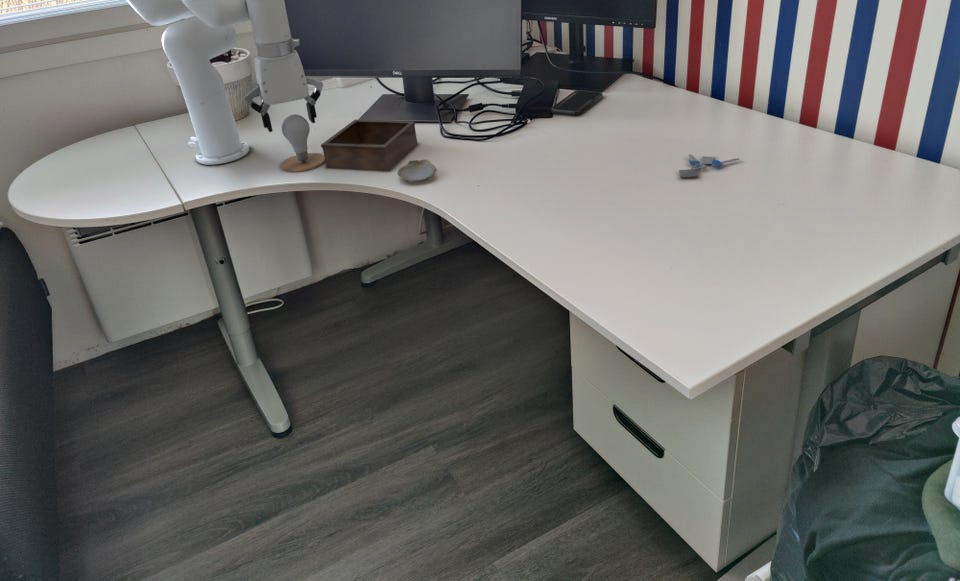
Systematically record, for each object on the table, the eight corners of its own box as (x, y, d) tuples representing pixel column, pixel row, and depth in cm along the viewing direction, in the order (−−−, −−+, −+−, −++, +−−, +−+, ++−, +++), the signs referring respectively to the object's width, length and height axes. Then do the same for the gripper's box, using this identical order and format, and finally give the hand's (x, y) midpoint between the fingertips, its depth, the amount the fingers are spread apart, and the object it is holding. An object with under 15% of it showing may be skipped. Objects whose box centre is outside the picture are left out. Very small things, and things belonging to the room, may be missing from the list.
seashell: (400, 192, 155) (434, 184, 152) (393, 181, 153) (428, 172, 150) (408, 170, 161) (441, 162, 158) (402, 159, 159) (435, 150, 156)
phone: (549, 108, 181) (576, 89, 192) (550, 113, 182) (576, 94, 192) (579, 111, 177) (604, 92, 188) (579, 116, 178) (604, 96, 188)
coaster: (273, 170, 168) (272, 169, 168) (296, 153, 176) (296, 152, 175) (311, 173, 164) (310, 171, 164) (333, 155, 172) (332, 154, 172)
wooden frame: (325, 168, 166) (320, 144, 163) (358, 141, 178) (354, 119, 175) (388, 171, 161) (384, 147, 158) (418, 144, 173) (415, 121, 170)
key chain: (688, 181, 142) (688, 177, 141) (658, 169, 148) (658, 165, 147) (740, 161, 147) (740, 157, 147) (709, 150, 153) (709, 146, 153)
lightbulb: (319, 162, 168) (308, 116, 162) (292, 169, 166) (280, 122, 161) (314, 154, 173) (303, 108, 167) (288, 160, 171) (276, 114, 165)
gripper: (310, 37, 162) (324, 113, 171) (230, 51, 156) (249, 128, 166) (319, 45, 156) (333, 122, 166) (236, 59, 150) (255, 139, 160)
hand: (291, 125), depth 166 cm, fingers open, 9 cm apart
